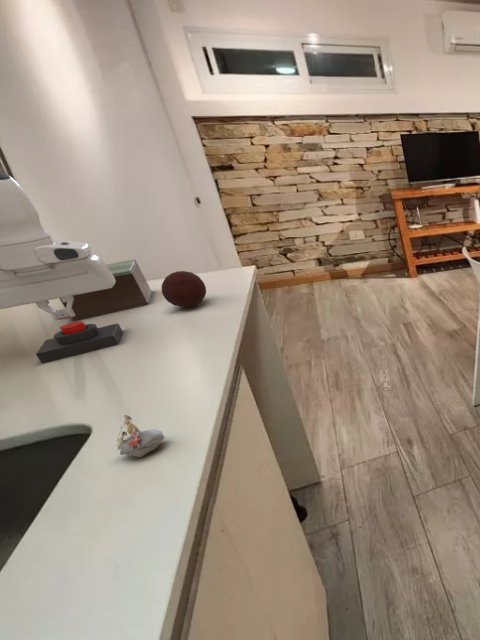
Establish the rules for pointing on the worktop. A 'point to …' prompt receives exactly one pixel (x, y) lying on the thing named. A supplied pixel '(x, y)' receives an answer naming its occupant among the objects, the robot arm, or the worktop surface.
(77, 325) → the button
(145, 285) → the chest
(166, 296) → the dark brown oval ball
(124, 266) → the chest lid
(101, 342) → the button box
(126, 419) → the figurine
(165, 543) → the worktop surface
